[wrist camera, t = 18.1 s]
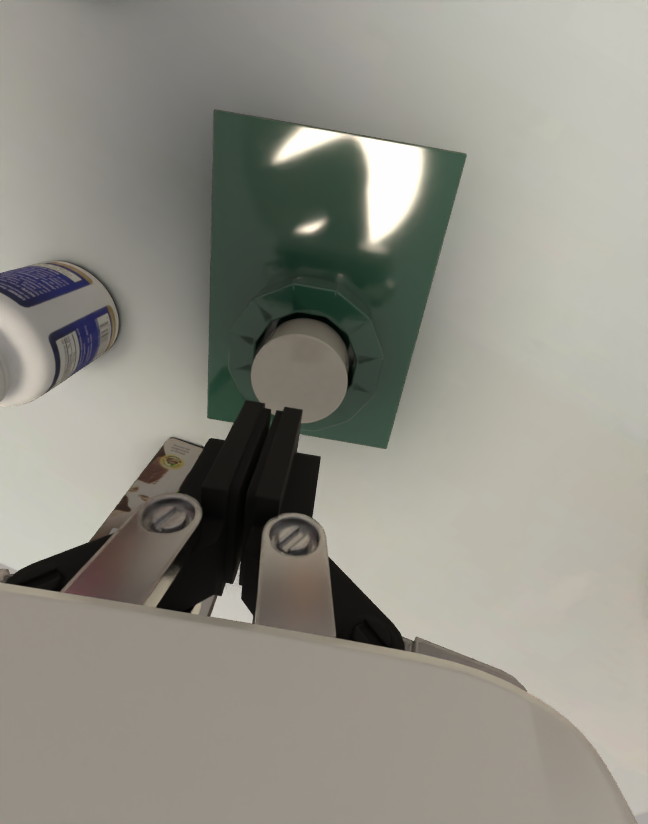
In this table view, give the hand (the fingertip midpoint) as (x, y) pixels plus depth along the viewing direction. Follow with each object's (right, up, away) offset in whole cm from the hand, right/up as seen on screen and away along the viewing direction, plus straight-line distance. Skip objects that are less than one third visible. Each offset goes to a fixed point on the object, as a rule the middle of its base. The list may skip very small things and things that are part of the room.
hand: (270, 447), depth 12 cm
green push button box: (+1, +7, +9) cm, 11 cm away
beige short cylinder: (+1, +3, +7) cm, 8 cm away
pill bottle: (-12, +7, +10) cm, 17 cm away
